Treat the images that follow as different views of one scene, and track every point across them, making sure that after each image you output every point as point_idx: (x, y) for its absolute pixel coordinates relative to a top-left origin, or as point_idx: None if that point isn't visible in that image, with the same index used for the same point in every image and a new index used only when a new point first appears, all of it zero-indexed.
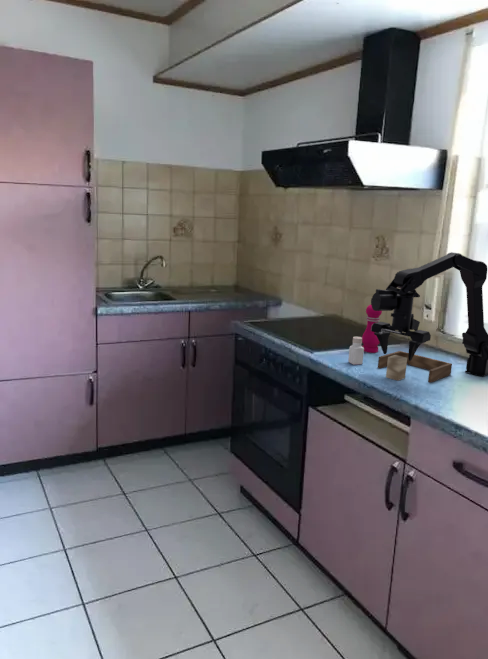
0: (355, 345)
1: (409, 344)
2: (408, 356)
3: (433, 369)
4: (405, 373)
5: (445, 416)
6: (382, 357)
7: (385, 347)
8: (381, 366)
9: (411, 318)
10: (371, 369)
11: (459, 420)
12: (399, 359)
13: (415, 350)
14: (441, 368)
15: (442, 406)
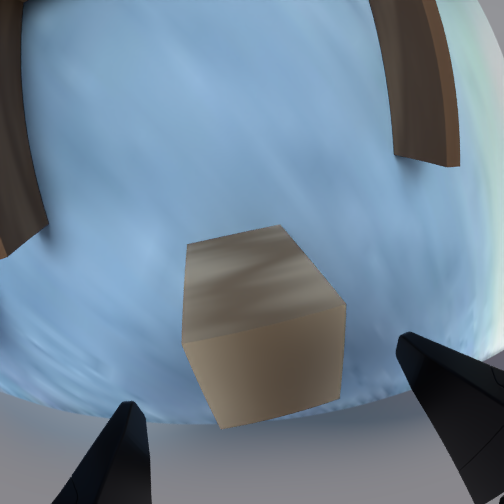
0: None
1: (469, 485)
2: (413, 390)
3: (452, 125)
4: (290, 237)
5: (481, 357)
6: (2, 236)
7: (137, 473)
8: (39, 213)
9: None
10: (55, 288)
11: (497, 344)
12: (325, 395)
13: (490, 383)
14: (438, 30)
15: (478, 328)
